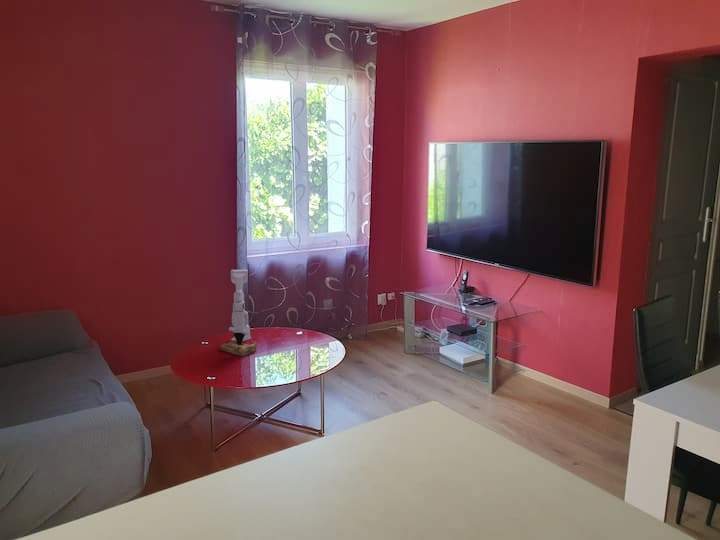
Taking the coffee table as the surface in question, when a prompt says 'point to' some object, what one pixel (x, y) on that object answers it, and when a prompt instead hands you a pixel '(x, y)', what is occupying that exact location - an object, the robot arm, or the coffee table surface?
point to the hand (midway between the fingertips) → (239, 344)
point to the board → (234, 348)
